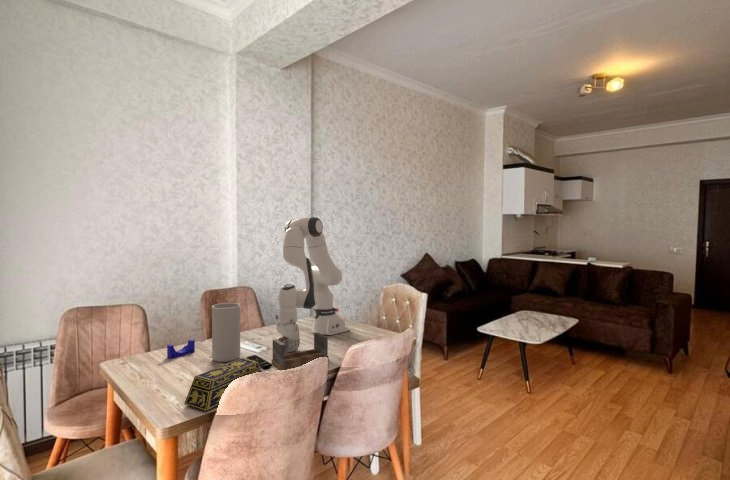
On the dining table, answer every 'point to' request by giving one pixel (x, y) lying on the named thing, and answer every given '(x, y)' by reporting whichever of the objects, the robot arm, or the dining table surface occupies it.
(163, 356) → the dining table surface
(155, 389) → the dining table surface
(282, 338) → the tin
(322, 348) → the holder
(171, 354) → the cable clip
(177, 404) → the dining table surface
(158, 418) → the dining table surface
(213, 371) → the decorative box
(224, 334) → the cylinder vase
